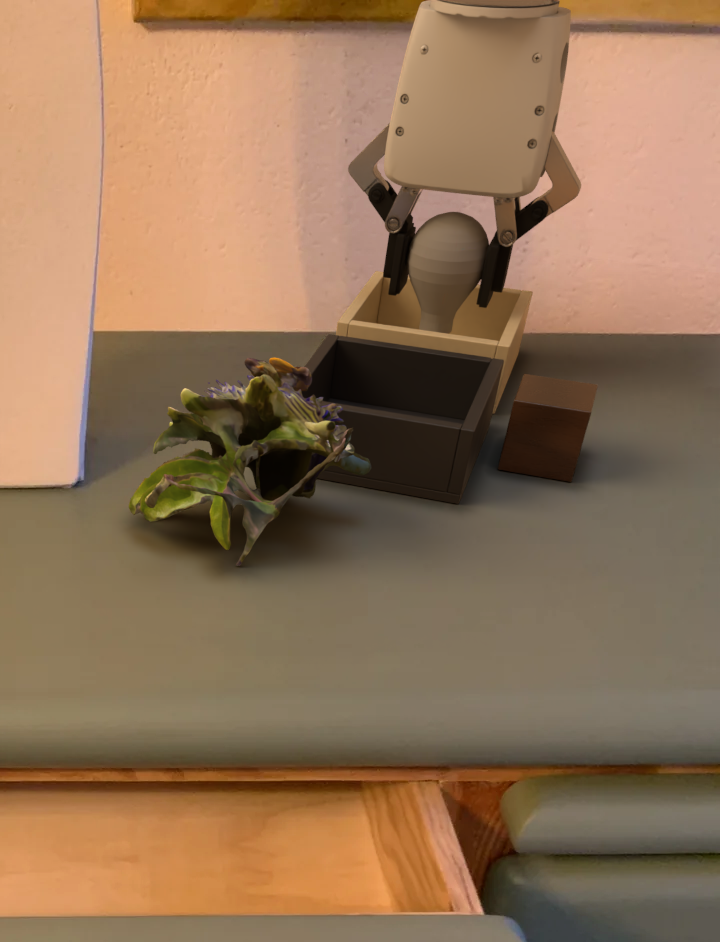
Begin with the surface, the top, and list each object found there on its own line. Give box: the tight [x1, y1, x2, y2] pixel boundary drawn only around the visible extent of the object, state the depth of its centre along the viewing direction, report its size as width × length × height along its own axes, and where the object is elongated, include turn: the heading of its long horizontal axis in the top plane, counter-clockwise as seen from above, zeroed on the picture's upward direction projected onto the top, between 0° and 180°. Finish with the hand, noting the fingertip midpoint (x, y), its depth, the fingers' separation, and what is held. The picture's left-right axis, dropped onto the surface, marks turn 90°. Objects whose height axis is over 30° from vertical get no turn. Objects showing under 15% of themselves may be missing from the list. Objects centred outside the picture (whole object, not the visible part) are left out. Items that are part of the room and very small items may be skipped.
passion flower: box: [128, 357, 371, 567], centre depth 64 cm, size 11×11×12 cm
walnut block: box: [497, 373, 599, 483], centre depth 72 cm, size 4×4×4 cm
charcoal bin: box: [301, 333, 504, 505], centre depth 73 cm, size 12×12×5 cm
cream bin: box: [335, 270, 533, 415], centre depth 83 cm, size 12×12×5 cm
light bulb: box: [407, 211, 490, 334], centre depth 80 cm, size 6×6×10 cm
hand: (440, 292), depth 80 cm, fingers closed on light bulb, 5 cm apart
